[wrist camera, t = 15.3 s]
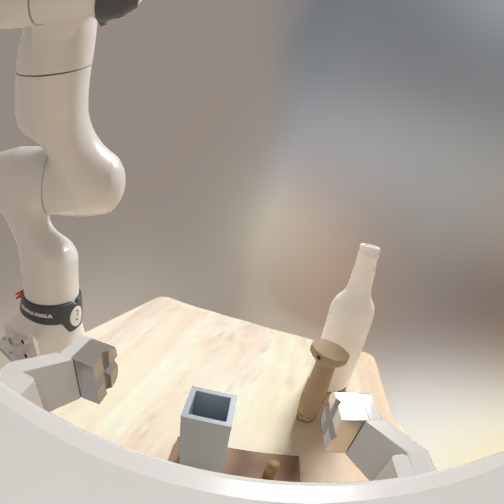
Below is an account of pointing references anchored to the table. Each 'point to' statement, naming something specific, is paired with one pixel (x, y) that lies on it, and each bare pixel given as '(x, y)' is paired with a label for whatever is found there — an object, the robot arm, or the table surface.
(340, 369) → the alcohol
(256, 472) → the pin board
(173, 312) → the table surface
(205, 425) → the sleeve
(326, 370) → the handle
